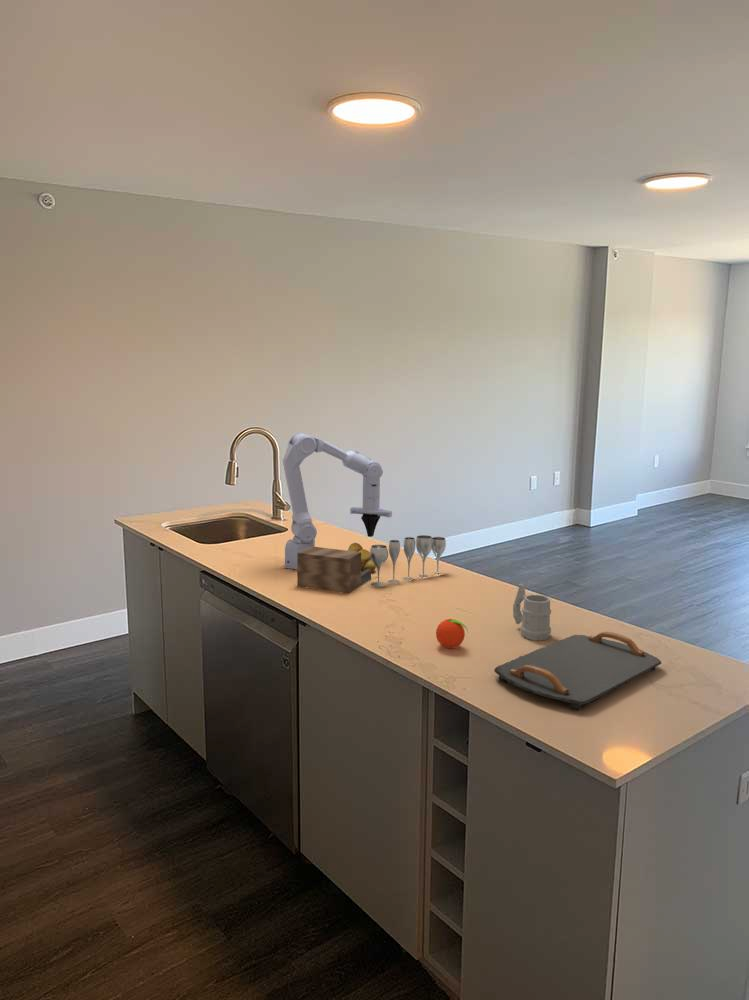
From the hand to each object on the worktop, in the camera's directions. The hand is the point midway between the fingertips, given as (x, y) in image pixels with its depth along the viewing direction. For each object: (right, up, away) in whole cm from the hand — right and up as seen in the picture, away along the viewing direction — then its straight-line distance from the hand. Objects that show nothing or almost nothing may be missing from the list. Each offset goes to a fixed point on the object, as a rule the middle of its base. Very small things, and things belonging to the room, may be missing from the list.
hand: (370, 536), depth 260 cm
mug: (+41, -22, -64) cm, 79 cm away
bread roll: (-4, -11, -8) cm, 14 cm away
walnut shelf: (-11, -13, -23) cm, 28 cm away
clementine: (+20, -24, -75) cm, 81 cm away
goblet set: (+12, -13, -18) cm, 25 cm away
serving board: (+47, -27, -90) cm, 105 cm away
